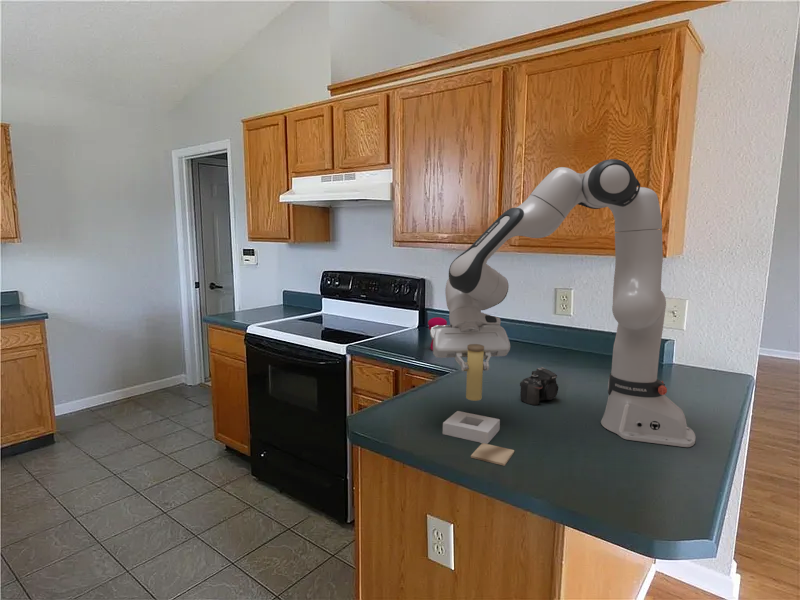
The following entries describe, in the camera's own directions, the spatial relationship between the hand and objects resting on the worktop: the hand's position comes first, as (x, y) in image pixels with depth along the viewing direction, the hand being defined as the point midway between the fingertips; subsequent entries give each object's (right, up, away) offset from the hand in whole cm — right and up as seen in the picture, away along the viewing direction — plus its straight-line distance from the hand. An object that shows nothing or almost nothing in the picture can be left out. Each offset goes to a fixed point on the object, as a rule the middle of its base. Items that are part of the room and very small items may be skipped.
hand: (475, 369), depth 124 cm
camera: (+25, -14, +30) cm, 41 cm away
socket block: (-1, -17, +3) cm, 17 cm away
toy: (-3, -5, +90) cm, 91 cm away
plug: (0, -7, +2) cm, 8 cm away
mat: (+3, -19, -10) cm, 21 cm away
